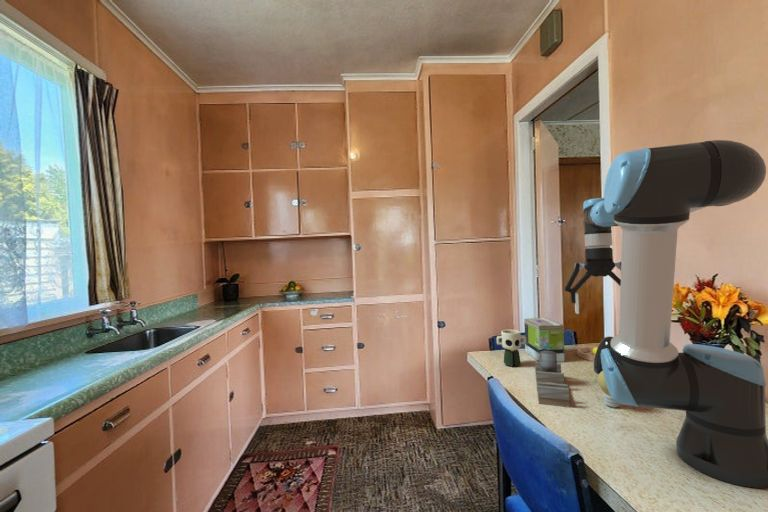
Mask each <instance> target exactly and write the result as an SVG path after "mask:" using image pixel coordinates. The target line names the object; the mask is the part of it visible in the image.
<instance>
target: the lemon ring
mask: <svg viewBox="0 0 768 512" xmlns="http://www.w3.org/2000/svg"><path fill="white" fill-rule="evenodd" d="M594 348H598V346H591V345H589V346H588V345H586V346H581V347H577V348H576V353H577V355H578V358H581V359H584V360H587V361H591V362H594V359H595V355H594V354H590V353H588V352H591V353H593V352H592V350H593V349H594Z"/></svg>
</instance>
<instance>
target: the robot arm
mask: <svg viewBox="0 0 768 512" xmlns="http://www.w3.org/2000/svg"><path fill="white" fill-rule="evenodd" d="M766 174H767V166H766V163H765V160H764V158H763V157H762V156H761V154H760V153H759V152H758V151H757V150H755V149H754V148H752V147H751V146H748V145H746V144H744V143H742V142H738V141H734V140H728V139H726V140H725V139H722V140H721V139H714V140H712V139H711V140H706V141H701V142H690V143H683V144H675V145H673V144H672V145H667V146H666V145H665V146H655V147H644V148H640V149H635V150H631V151H625V152H622V153H620V154H619V155H617V156H616V157H615V158H614V159H612V162H611V164H610V167H609V168H608V171H607V174H606V177H605V181H604V182H605V183H604V189H603V197H598V198H590V199H586V200H584V201H583V206H582V208H583V209H582V215H583V228H584V229H583V231H584V247H586V248H585V249H584V257H585V260H584V261H585V262H584V263H579V262H578V263H577V262H576V263H574V266H573V267H574V268H573V271H572V273H571V275H570V276H569V278H568V281H567V283H566V284H565V287H564V290H565V292H568V293H570V301H571V303H572V304H574V311H575V312H574V313H575V314H577V315H579V314H580V307H579V306H580V305H579V303H580V301H579V293H578V291H579V289H580V288H581V287H582V286H583V285H584V284H585V283H586V282H587V281H588V280H589V279H590V278H591V277H594V278H595V277H610V278H611V279H612V280H613V281H614V282H615V283H616V284H617V285H618V286H619V287H620V291H619V296H620V297H619V316H618V317H619V323H618V326H619V327H618V334H617V335H615V336H612V337H613V338H612V339H611V342H610V349H608V348H606V349H602V350H601V363H602V369H603V373H604V377H605V381H606V385H607V388H608V391H609V393H610V395H611V397H612V399H613V400H614V401H615V402H617V403H619V404H620V405H623V406H624V405H625V406H632V407H633V406H634V407H635V408H639V407H642V408H652V409H661V410H662V409H664V410H674V411H675V410H676V411H682V412H683V411H685V419H684V422H683V424H682V425H681V428H680V430H679V433H678V435H677V437H676V443H675V445H676V449H675V450H676V454H677V455H678V457H679V458H680V459H681V460H682V462H684V463H686V464H687V465H688V466H690V467H691V468H693V469H695V470H696V471H698V472H701V473H702V474H705V475H707V476H709V477H711V478H713V479H717V480H720V481H723V482H726V483H730V484H733V485H737V486H743V487H748V488H757V489H758V488H759V489H766V488H767V489H768V437H767V432H766V430H767V429H766V427H767V426H766V424H767V423H766V421H767V420H766V386H767V383H766V381H765V373H764V367H763V365H762V364H761V362H759V360H757V359H755V358H754V357H752V356H750V355H747V354H745V353H742V352H739V351H735V350H730V349H727V348H722V347H719V346H713V345H712V346H711V345H706V344H699V343H698V344H697V343H689V344H687V343H686V344H685V345H684V346H683V348H682V349H681V350H682V352H679V350H678V348H677V347H676V346H675V345H674V344H673V343H672V342H671V341H670V340H671V328H672V314H673V313H672V312H673V302H674V301H673V297H674V287H675V286H674V285H675V284H674V283H675V275H676V274H675V272H676V259H677V258H676V256H677V246H678V245H677V244H678V233H679V232H678V230H679V228H680V227H682V226H684V225H685V224H686V223H688V222H689V221H690V214H691V213H694V212H696V211H699V210H702V209H705V208H707V207H724V206H728V205H731V204H734V203H738V202H740V201H743V200H745V199H748V198H749V197H751V196H752V195H753V194H755V193H756V192H757V191H758V190H759V189H760V188H761V186H762V184H763V183H764V181H765V178H766ZM612 227H620V228H621V231H622V232H621V261H619V262H614V253H613V250H614V249H613V248H612V246H613V232H612ZM583 268H584V269H585V270H586V272H585V273H584V274H583V276H581V278H579V280H578V281H577V282H576V283H575V285H574V286H573V287H572V285H573V284H574V282H575V279H576V278H577V276H578V275H579V272H580V271H581V270H582V269H583ZM615 268H617V269H618V270H620V278H619V276H617V274H616V273H615V272H614V271H613V270H614V269H615ZM571 287H572V288H571Z"/></svg>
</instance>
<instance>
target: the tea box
mask: <svg viewBox="0 0 768 512" xmlns="http://www.w3.org/2000/svg"><path fill="white" fill-rule="evenodd" d="M523 321H524V336H525V337H526V344H524V348H525V352H526V353H527V354H528V355H530V356H531V357H532V358H534V360H537V362H540V352H541V351H553V352H556V354H557V363H563V362H565V337H564V336H565V333H564V332H565V329H564V324H562V323H559V322H558V321H555V320H553V319H550V318H547V317H537V318H536V317H535V318H534V317H532V318H531V317H530V318H524V320H523Z"/></svg>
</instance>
